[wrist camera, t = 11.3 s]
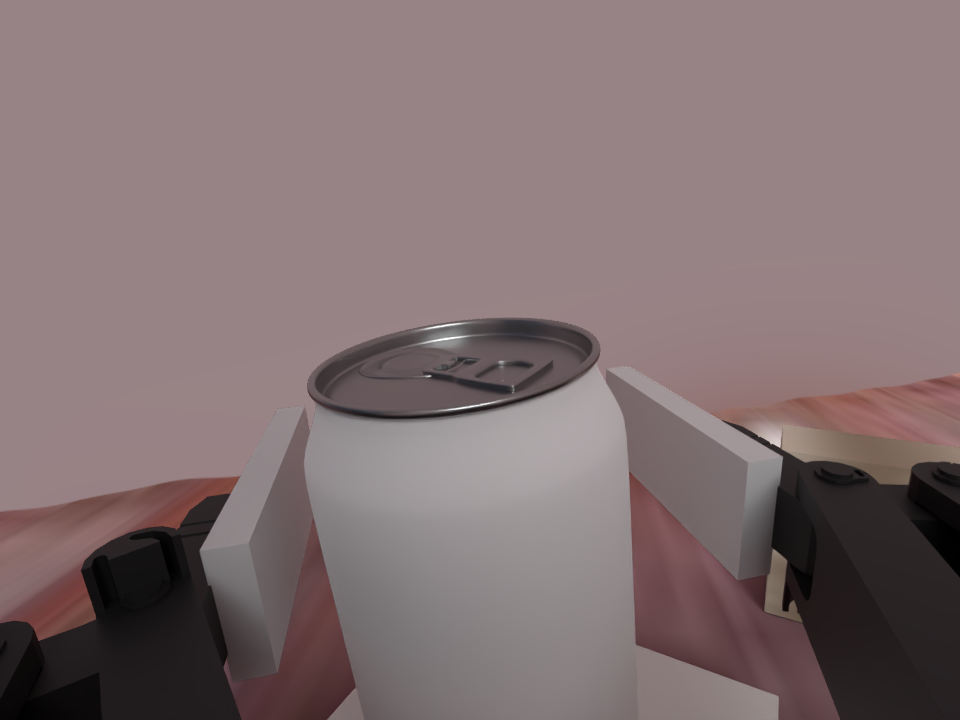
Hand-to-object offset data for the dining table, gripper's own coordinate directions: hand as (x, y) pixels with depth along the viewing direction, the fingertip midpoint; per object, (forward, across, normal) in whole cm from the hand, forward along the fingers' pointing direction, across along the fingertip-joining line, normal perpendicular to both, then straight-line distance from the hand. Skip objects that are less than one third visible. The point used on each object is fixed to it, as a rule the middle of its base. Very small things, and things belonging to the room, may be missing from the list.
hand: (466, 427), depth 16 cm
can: (-4, 0, -8) cm, 10 cm away
